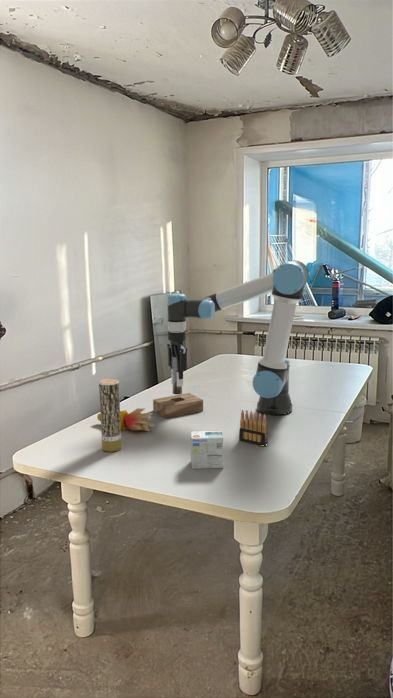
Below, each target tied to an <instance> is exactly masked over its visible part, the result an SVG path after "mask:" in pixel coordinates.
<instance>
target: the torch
mask: <svg viewBox="0 0 393 698" xmlns="http://www.w3.org/2000/svg"><path fill="white" fill-rule="evenodd" d="M145 410H146V408H135V409H134V410H132V411H131V412H129V413H128V411H127V409H124V410H120V423H121V431H125V430H127V429H128V428H129V429H130V430H131V431H145V432H151V428H152V427H156V425H155V424H154V423H153V422H147V421H149V420H150V418H151V416H152V415H153V414H154V413H153V412H145V413H144V412H143V411H145ZM142 412H143V413H142ZM97 420H98V421H99V422H101V414H100V413H98V414H97Z"/></svg>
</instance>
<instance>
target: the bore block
mask: <svg viewBox="0 0 393 698" xmlns="http://www.w3.org/2000/svg"><path fill="white" fill-rule="evenodd" d="M152 407H153V411H154V412H155V413H157V414H158V415H160V416H162V417H163V418H165V419H170V418H175V417H180V416H183V415H189V414H195V413H199V412H203V411H204V399H202V398H200V397H199V396H196V395H194V394H192V393H190V392H187V393H182V394H173V395H169V396H164V397H159V398H153V399H152Z"/></svg>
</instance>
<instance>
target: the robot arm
mask: <svg viewBox="0 0 393 698" xmlns="http://www.w3.org/2000/svg"><path fill="white" fill-rule="evenodd" d="M309 277H310V272H309V269H308V267H307V266H306V264H304V262H302V261H300V260H297V259H294V260H288V261H285V262H282V263H281V264H280V265H278V266H277V267H276V268H275V269H273V270H272V271H271V272H270V273H268V274H266V275H265V274H264V275H262V276H260V277H257V278H254V279H252V280H249V281H245V282H242V283H241V284H237V285H235V286H231V287H230V288H227V289H223V290H221V291H217V292H215V293H213V294H209V295H206V296H204V297H202V298H199V299H188V298H187V296H186V294H184V293H171V294H169V295H168V296H167V305H166V306H167V331H168V332H167V340H168V341H170V343H166V347H167V361H168V367H169V368H170V369H171V376H170V377H171V385H173V373H172V357H173V356H176V359H177V368H178V371H176V372H177V387H179V386H182V387H184V372H185V371H187V353H188V348H186V347H184V346H185V345H184V341H186V340H187V332H186V329H187V328H186V327H187V326H186V325H187V322H186V321H187V319H188V318H191V319H203V320H207V319H209V320H210V319H213V317H214V316H215V313H216V312H220V311H222V310H225V309H227V308H230V307H233V306H236V305H240V304H243V303H245V302H248V301H251V300H254V299H257V298H260V297H263V296H265V295H269V294H271V296H272V297H273V298H274V300H273V305H272V311H271V316H270V321H269V327H268V331H267V336H266V341H265V346H264V351H263V356H262V358H260V359H258V362H257V366H256V372H255V374H254V376H253V378H252V388H253V390H254V391H255V394H257V395H258V396H259V398H258V401H257V403H256V410H257V411H258V412H259V413H261V414H263V415H264V414H265V415H269V414H272V415H271V416H279V415H278V414H284V413H288V412H290V411H291V410H292V411H293V404H292V400H291V396H290V393H289V388H290V367H291V365H290V360H289V359H288V358H286V356H287V351H288V347H289V346H288V345H289V343H290V342H289V341H290V337H291V332H292V327H293V324H294V323H293V322H294V318H295V313H296V308H297V304H298V303H299V302H300V301H302V298H303V294H304V289H305V286H306V285H307V283H308V281H309ZM290 413H291V412H290ZM275 414H277V415H275ZM288 414H289V413H288ZM284 415H285V414H284Z"/></svg>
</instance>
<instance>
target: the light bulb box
mask: <svg viewBox="0 0 393 698" xmlns="http://www.w3.org/2000/svg"><path fill="white" fill-rule="evenodd" d="M190 460H191V461H190V462H191V469H192V470H193V469H194V470H195V469H196V470H197V469H198V470H200V469H202V470H203V469H224V461H225V460H224V436H223V431H222V430H209V431H206V430H203V431H201V430H200V431H199V430H198V431H190Z"/></svg>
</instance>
